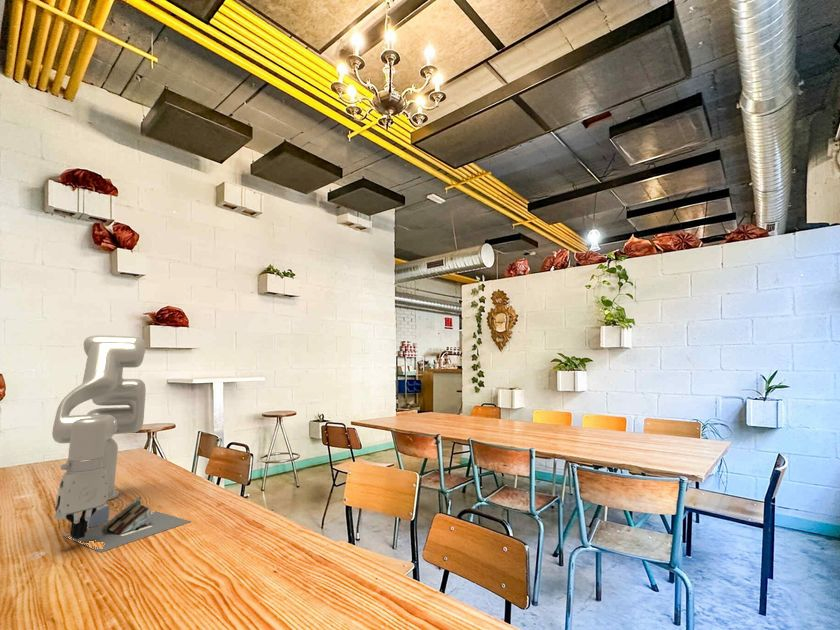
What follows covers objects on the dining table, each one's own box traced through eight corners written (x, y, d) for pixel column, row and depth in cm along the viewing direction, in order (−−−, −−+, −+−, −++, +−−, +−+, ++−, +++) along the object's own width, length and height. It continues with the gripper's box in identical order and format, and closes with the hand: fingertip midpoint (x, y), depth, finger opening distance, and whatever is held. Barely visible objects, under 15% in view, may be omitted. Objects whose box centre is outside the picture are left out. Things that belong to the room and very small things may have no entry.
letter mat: (63, 536, 114) (63, 536, 114) (153, 510, 135) (153, 510, 135) (100, 552, 104) (100, 551, 104) (191, 521, 125) (191, 521, 125)
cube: (80, 525, 123) (81, 507, 123) (99, 519, 127) (101, 502, 128) (88, 528, 120) (90, 510, 121) (107, 522, 125) (109, 505, 125)
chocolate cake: (118, 540, 112) (154, 499, 121) (98, 530, 114) (135, 490, 123) (132, 553, 119) (165, 513, 127) (113, 543, 120) (147, 505, 129)
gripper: (57, 473, 103) (48, 551, 100) (123, 461, 116) (117, 530, 113) (43, 469, 106) (35, 544, 104) (109, 458, 119) (103, 525, 117)
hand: (78, 537), depth 109 cm, fingers closed
